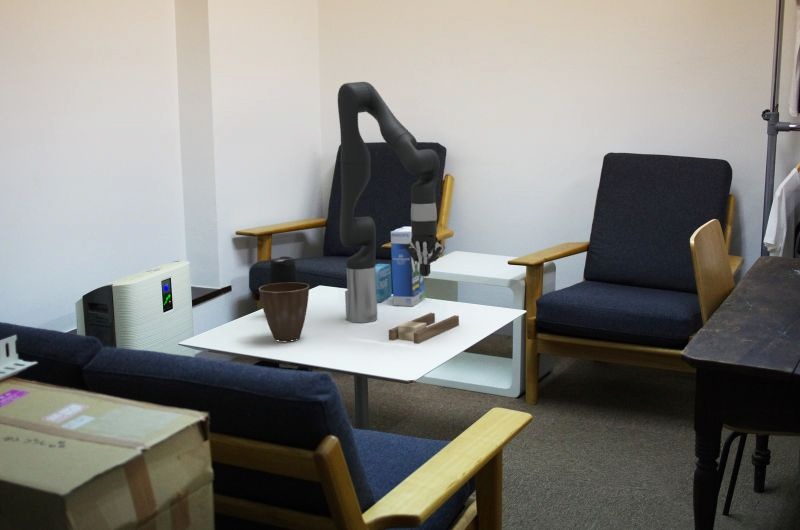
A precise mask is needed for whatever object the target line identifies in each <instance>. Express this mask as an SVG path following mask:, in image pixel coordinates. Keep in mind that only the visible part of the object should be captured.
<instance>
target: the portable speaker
mask: <svg viewBox="0 0 800 530" xmlns="http://www.w3.org/2000/svg"><path fill="white" fill-rule="evenodd" d="M269 263H270V264H269V271H268V282H269V284H275V283H288V282H295V283H299V281H298V280H299V279H298V278H299V277H298V272H297V267H296V262H295V259H294V258H293V257H291V256H286V255H285V256H279V257H277V258H270V260H269ZM269 284H268V285H269Z"/></svg>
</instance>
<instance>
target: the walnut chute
mask: <svg viewBox="0 0 800 530" xmlns="http://www.w3.org/2000/svg"><path fill="white" fill-rule="evenodd" d="M411 321H412V322H421V323H426V328H424V329H422V330H420V331H418V332H415V333H414V341H413V344H417V345H419V344H421V343H424V342H425V341H428V340H430V339H432V338H434V337H436V336H439V335H441V334H443V333H445V332H447V331H449V330H451V329H453V328H456V327H458V326H460V316H459V315H455V314H454V315H453V316H450V317H447V318H445V319H443V320H440V321H438V322H436V313H434V312H429V313H427V314H425V315H422V316H419V317H417V318H415V319H412V320H411ZM388 340H389V341H395V340H399V336H398V326H395V327H393V328H391V329H388Z"/></svg>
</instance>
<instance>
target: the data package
mask: <svg viewBox="0 0 800 530" xmlns="http://www.w3.org/2000/svg"><path fill="white" fill-rule="evenodd" d="M375 272H376V295H377V303H382V302H384V301H386V300H388V299H389V298H391V297H392V296H393V282H392V265H391V264H390V263H377V264H375Z"/></svg>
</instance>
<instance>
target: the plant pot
mask: <svg viewBox="0 0 800 530" xmlns="http://www.w3.org/2000/svg"><path fill="white" fill-rule="evenodd" d="M258 292H259V298H260V303H261V306H262V309H263V313H264V315H265V319H266V320H265V321H266V322H267V325H268V327H269V331H270V332H271V334H272V335H271V336H272V337H273V340H274V341H275V340H279V341H291V340H296V339H298V340H300V338H301V335H302V332H303V328H304V325H305V320H306V314H307V312H308V311H307V310H308V309H307V308H308V304H309V294H310V285H309V283H304V282H298V283H295V282H288V283H275V284H266V285H265V284H264V285H262V286H260V287H259V288H258ZM296 341H297V340H296ZM291 342H292V341H291Z"/></svg>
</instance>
